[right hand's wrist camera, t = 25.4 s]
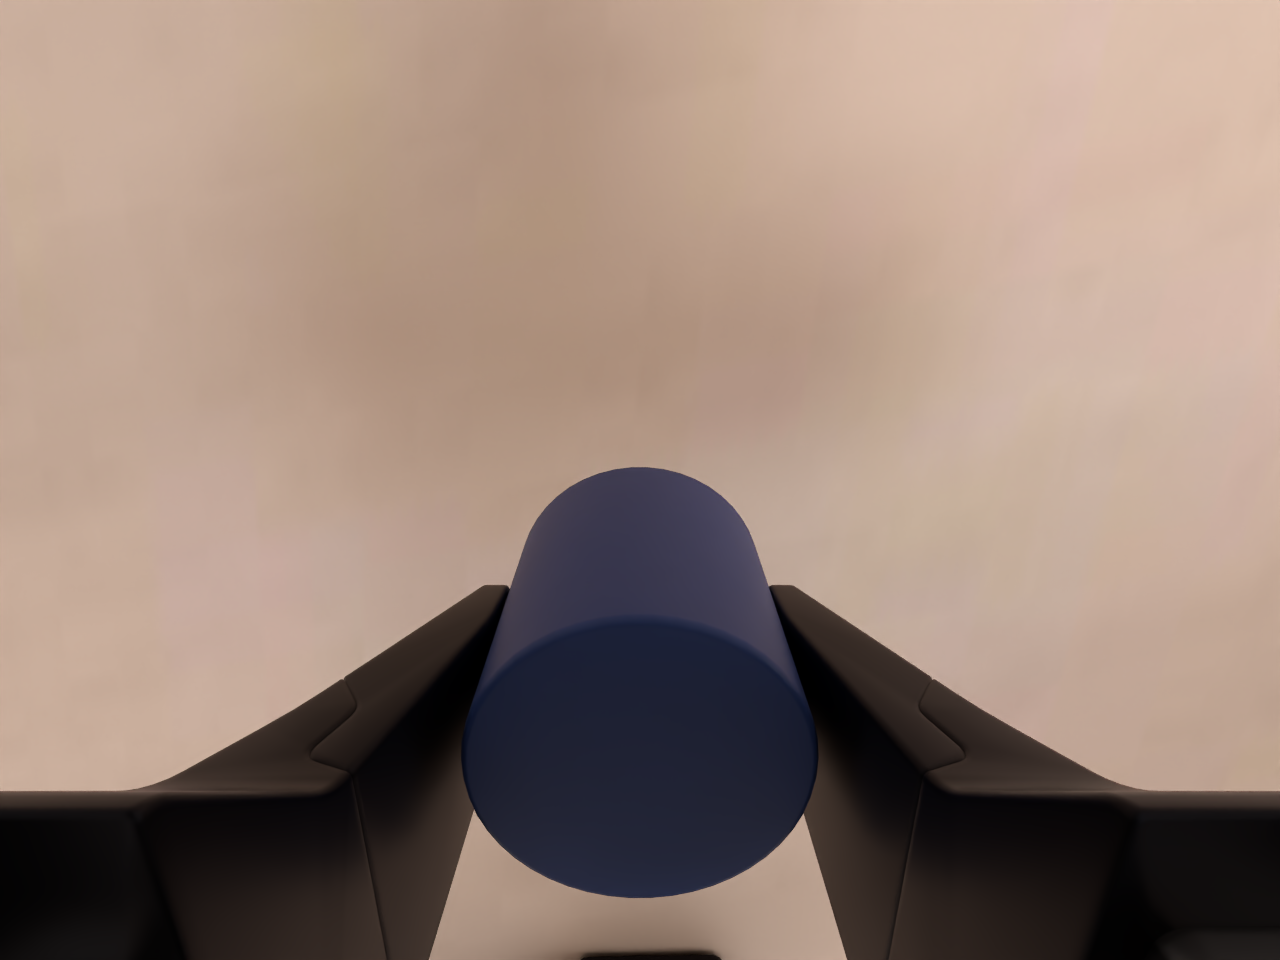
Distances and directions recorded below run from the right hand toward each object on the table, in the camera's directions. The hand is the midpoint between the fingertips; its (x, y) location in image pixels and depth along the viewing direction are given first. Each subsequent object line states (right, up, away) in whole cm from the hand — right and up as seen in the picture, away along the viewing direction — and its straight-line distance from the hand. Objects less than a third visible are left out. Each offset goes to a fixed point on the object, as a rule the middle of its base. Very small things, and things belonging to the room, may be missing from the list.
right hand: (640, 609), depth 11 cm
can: (0, 0, +1) cm, 1 cm away
